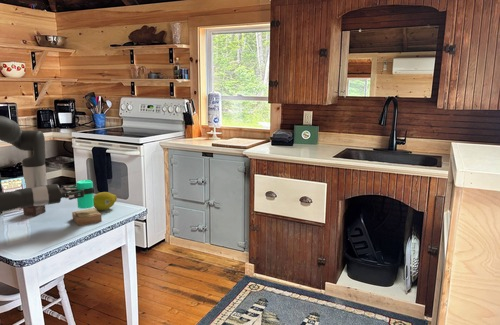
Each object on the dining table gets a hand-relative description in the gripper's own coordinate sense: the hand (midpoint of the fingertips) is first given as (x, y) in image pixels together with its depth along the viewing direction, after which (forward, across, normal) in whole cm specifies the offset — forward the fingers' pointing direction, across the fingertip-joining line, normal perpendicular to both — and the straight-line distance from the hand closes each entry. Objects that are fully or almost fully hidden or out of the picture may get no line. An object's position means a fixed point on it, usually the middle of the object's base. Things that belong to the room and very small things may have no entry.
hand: (91, 188), depth 156 cm
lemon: (+8, +9, +13) cm, 18 cm away
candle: (-3, 0, +7) cm, 8 cm away
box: (-18, +20, +14) cm, 30 cm away
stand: (-2, 0, +13) cm, 13 cm away
